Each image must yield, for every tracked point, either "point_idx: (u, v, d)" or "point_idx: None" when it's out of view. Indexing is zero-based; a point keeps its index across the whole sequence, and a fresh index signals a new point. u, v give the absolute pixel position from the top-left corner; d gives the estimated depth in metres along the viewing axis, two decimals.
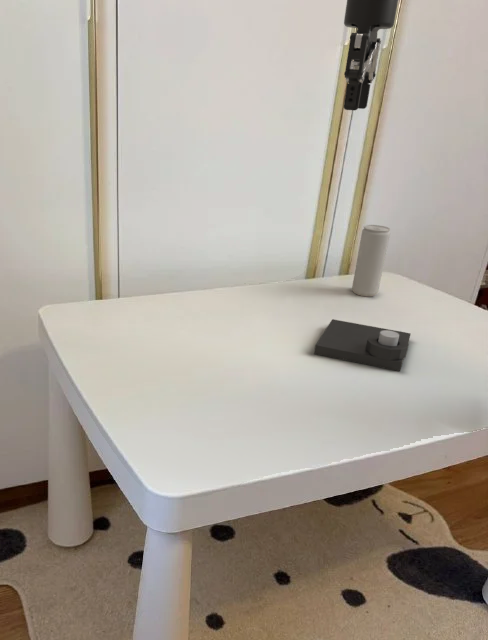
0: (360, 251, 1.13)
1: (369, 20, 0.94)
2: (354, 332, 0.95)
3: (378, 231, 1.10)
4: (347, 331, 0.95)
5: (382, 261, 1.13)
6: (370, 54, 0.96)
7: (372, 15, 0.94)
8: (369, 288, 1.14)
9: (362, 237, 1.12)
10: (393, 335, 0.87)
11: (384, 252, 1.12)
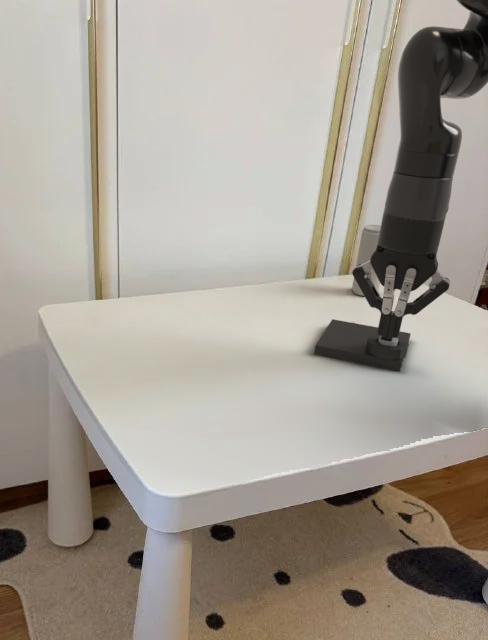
0: (360, 251, 1.13)
1: (378, 240, 0.82)
2: (354, 332, 0.95)
3: (378, 231, 1.10)
4: (347, 331, 0.95)
5: None
6: (384, 282, 0.83)
7: (379, 235, 0.82)
8: None
9: (362, 237, 1.12)
10: (392, 339, 0.87)
11: None
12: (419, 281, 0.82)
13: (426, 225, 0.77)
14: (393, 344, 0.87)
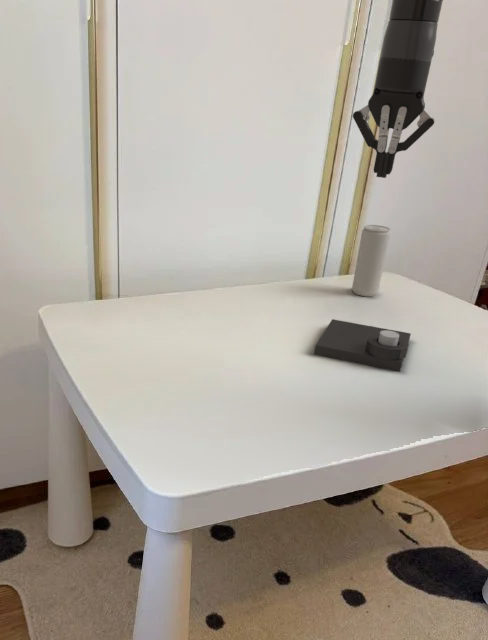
0: (360, 251, 1.13)
1: (375, 84, 0.98)
2: (354, 332, 0.95)
3: (378, 231, 1.10)
4: (347, 331, 0.95)
5: (382, 261, 1.13)
6: (380, 122, 0.99)
7: (376, 79, 0.97)
8: (369, 288, 1.14)
9: (362, 237, 1.12)
10: (393, 335, 0.87)
11: (384, 252, 1.12)
12: (409, 119, 0.98)
13: (415, 63, 0.92)
14: (394, 339, 0.87)
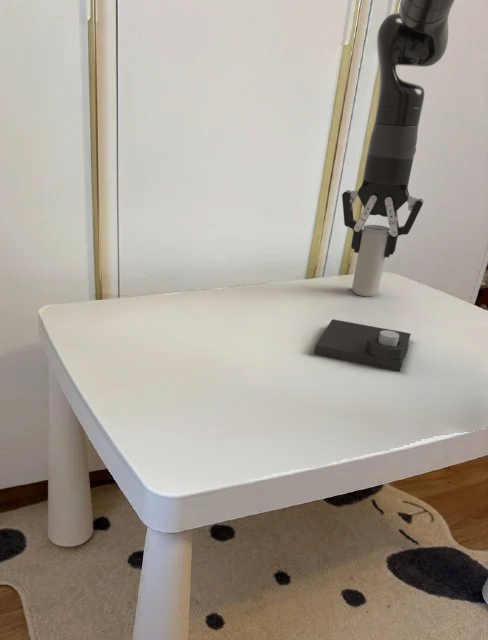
0: (360, 251, 1.13)
1: None
2: (354, 332, 0.95)
3: (378, 231, 1.10)
4: (347, 331, 0.95)
5: (382, 261, 1.13)
6: (364, 207, 1.09)
7: (364, 172, 1.08)
8: (369, 288, 1.14)
9: (362, 237, 1.12)
10: (393, 335, 0.87)
11: (384, 252, 1.12)
12: (395, 207, 1.08)
13: (398, 162, 1.03)
14: (394, 339, 0.87)
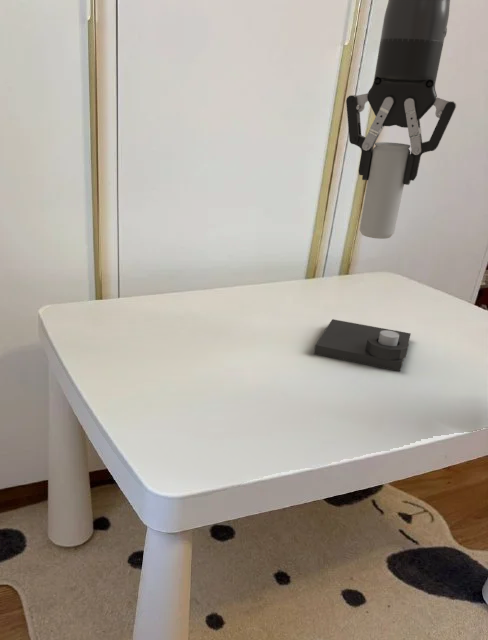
0: (370, 176, 0.85)
1: (375, 72, 0.80)
2: (354, 332, 0.95)
3: (395, 147, 0.82)
4: (347, 331, 0.95)
5: (400, 190, 0.85)
6: (376, 115, 0.82)
7: (376, 66, 0.80)
8: (382, 227, 0.86)
9: (373, 157, 0.84)
10: (393, 335, 0.87)
11: (402, 177, 0.84)
12: (417, 113, 0.80)
13: (423, 44, 0.75)
14: (394, 339, 0.87)
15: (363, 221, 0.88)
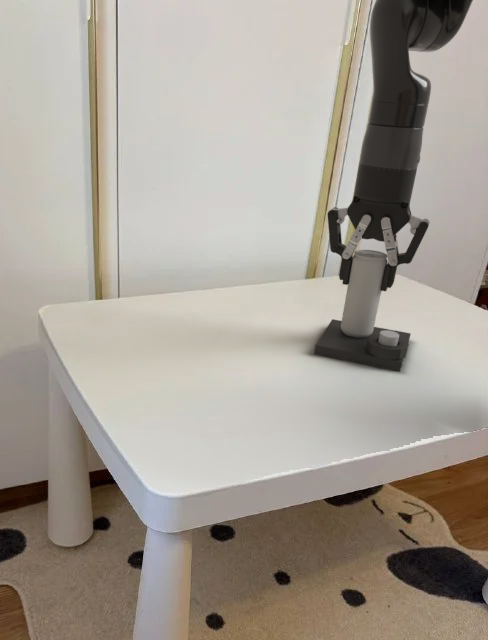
0: (350, 282, 0.91)
1: (354, 191, 0.86)
2: None
3: (372, 259, 0.87)
4: None
5: (378, 295, 0.90)
6: (355, 229, 0.87)
7: (355, 186, 0.86)
8: (362, 328, 0.92)
9: (353, 265, 0.90)
10: (393, 335, 0.87)
11: (380, 284, 0.90)
12: (393, 230, 0.86)
13: (398, 173, 0.81)
14: (394, 339, 0.87)
15: (344, 321, 0.93)
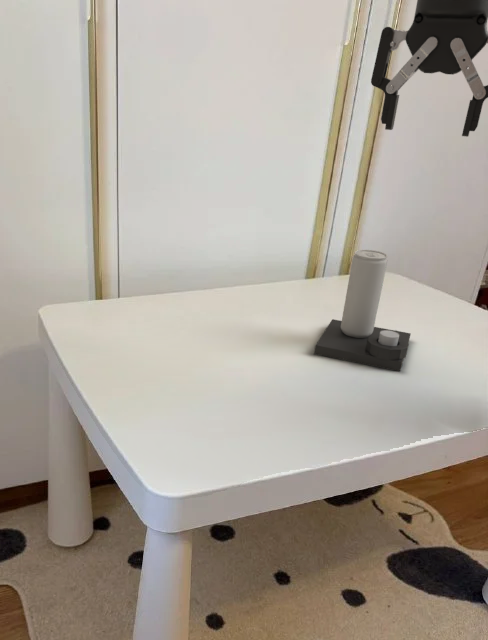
0: (350, 282, 0.91)
1: (416, 8, 0.69)
2: None
3: (372, 259, 0.87)
4: None
5: (378, 295, 0.90)
6: (413, 54, 0.70)
7: (417, 1, 0.68)
8: (362, 328, 0.92)
9: (353, 266, 0.90)
10: (393, 335, 0.87)
11: (380, 284, 0.90)
12: None
13: None
14: (394, 339, 0.87)
15: (344, 321, 0.93)
